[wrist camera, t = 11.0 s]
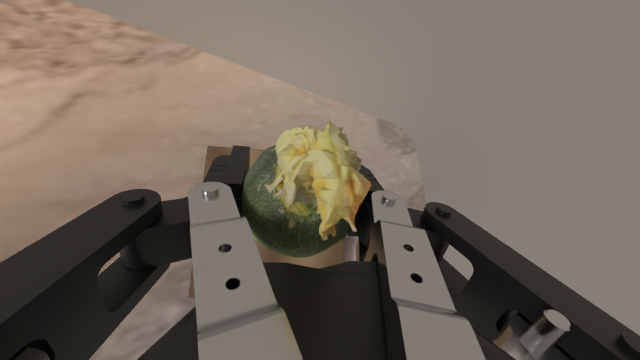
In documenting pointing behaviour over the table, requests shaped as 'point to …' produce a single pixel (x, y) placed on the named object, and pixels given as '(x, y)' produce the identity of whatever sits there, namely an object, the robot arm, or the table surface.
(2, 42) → the table surface
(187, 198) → the robot arm
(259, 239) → the vegetable
